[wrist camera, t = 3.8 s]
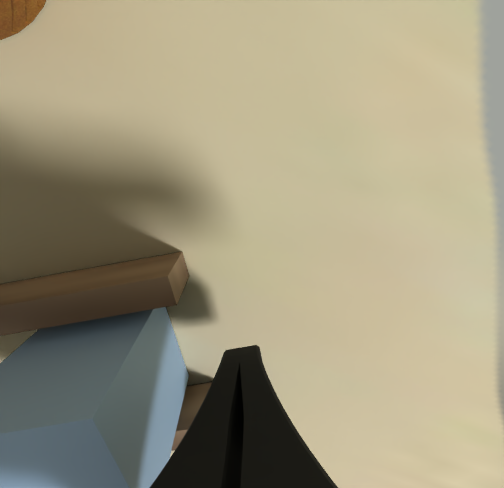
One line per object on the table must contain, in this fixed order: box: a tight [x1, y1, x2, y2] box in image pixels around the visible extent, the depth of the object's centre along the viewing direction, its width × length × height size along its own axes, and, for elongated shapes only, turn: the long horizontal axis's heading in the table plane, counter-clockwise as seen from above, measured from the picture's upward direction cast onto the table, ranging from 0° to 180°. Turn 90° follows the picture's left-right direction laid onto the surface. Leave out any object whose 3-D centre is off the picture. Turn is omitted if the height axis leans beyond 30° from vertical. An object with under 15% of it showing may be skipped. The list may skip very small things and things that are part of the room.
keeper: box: [0, 307, 189, 488], centre depth 10 cm, size 5×5×6 cm
